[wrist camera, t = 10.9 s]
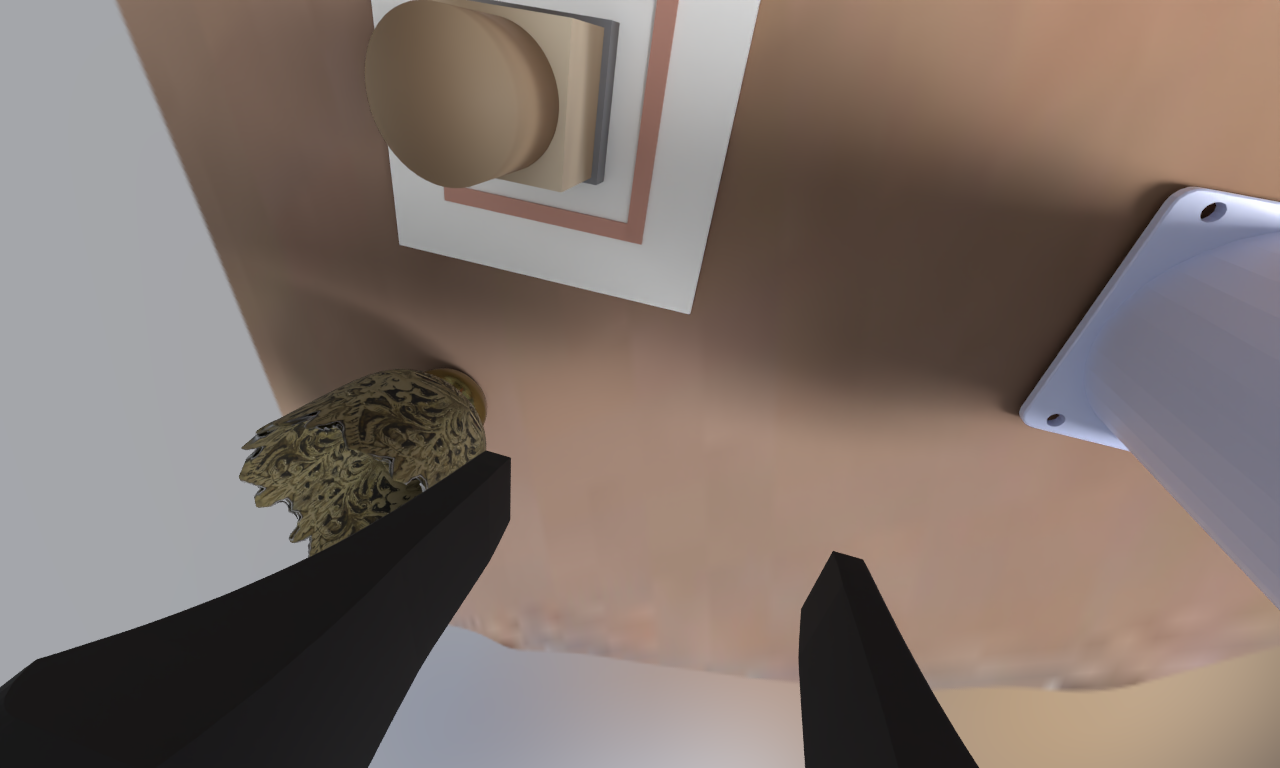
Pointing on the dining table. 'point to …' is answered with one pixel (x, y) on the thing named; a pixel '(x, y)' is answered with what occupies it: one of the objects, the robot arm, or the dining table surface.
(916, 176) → the dining table surface
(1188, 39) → the dining table surface
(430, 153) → the stamp
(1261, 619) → the dining table surface
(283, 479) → the cup
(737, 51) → the card sheet
